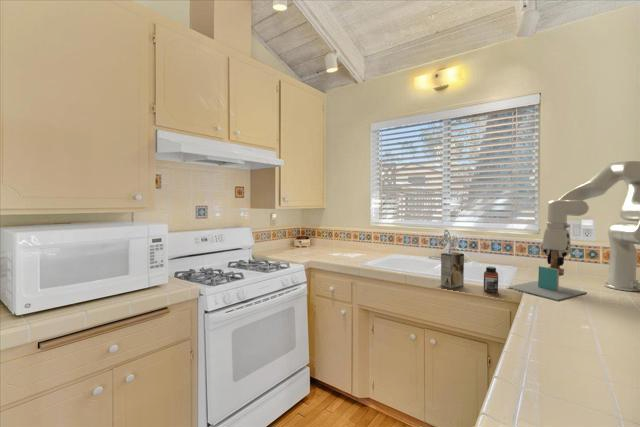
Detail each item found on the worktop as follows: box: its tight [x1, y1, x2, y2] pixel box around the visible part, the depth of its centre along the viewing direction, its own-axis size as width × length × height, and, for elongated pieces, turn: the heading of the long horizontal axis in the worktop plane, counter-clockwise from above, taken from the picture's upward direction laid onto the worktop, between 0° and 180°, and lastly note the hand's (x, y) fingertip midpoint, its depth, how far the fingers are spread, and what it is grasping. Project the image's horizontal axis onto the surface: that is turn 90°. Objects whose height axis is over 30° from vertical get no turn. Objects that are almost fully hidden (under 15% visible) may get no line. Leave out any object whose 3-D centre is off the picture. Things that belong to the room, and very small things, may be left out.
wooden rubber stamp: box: [548, 250, 565, 277], centre depth 153 cm, size 6×4×13 cm, turn 27°
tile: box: [537, 265, 560, 291], centre depth 151 cm, size 8×2×10 cm, turn 27°
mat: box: [507, 280, 588, 302], centre depth 150 cm, size 22×24×1 cm
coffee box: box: [440, 251, 465, 289], centre depth 159 cm, size 9×6×16 cm
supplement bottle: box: [483, 266, 499, 294], centre depth 149 cm, size 6×6×11 cm
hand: (555, 264), depth 153 cm, fingers closed on wooden rubber stamp, 3 cm apart
